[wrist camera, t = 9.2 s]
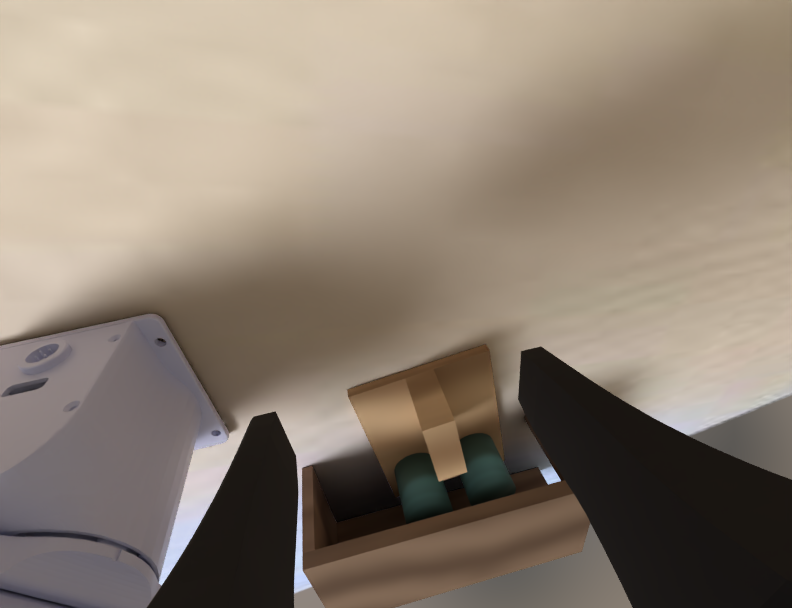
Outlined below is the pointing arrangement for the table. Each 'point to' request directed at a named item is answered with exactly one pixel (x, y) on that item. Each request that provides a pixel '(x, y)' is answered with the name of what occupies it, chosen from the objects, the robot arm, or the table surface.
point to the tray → (436, 432)
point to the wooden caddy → (436, 542)
